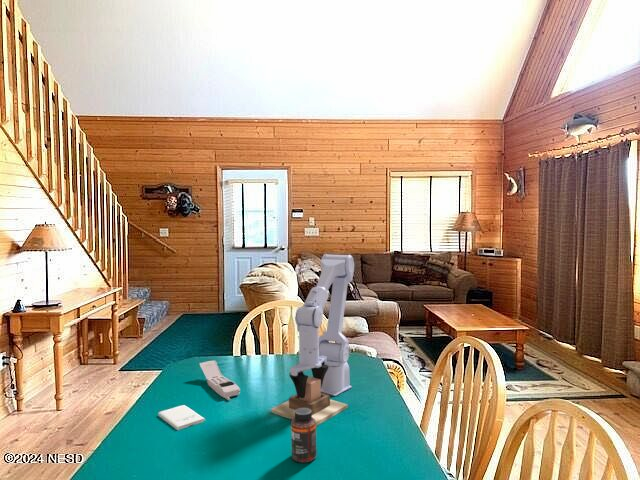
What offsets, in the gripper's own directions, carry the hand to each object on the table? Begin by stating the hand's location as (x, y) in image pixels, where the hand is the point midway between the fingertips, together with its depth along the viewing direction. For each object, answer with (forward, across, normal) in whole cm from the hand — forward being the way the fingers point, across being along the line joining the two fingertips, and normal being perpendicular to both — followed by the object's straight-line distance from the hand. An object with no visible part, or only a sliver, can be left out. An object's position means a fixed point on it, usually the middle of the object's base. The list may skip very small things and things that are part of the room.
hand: (309, 393), depth 141 cm
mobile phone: (+6, -4, +35) cm, 36 cm away
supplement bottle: (+5, -22, -16) cm, 27 cm away
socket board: (+5, 0, 0) cm, 5 cm away
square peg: (+4, 0, 0) cm, 4 cm away
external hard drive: (+6, -26, +25) cm, 37 cm away
